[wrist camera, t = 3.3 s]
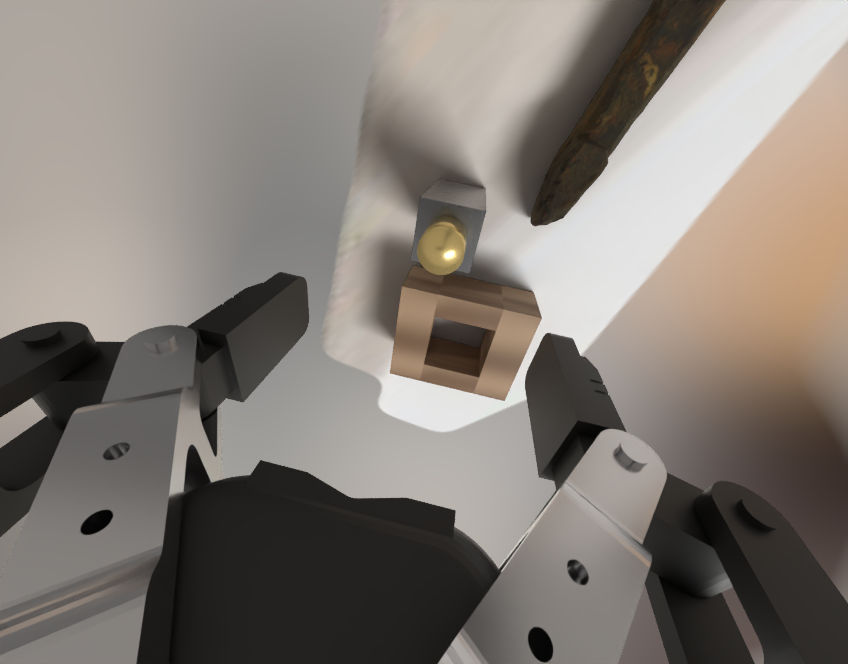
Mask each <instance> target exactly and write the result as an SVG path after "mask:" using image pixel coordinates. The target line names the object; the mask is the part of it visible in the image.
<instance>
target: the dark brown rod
mask: <svg viewBox="0 0 848 664" xmlns="http://www.w3.org/2000/svg"><path fill="white" fill-rule="evenodd" d="M725 1H726V0H654V1H653V3H652V5H651V7H650V9H649V11H648V13H647V14H646V16H645V17H644V19H643V20H642V21H641V23H640V24H639V26H638V27H637V29H636V30H635V32H634V33H633V35H632V36H631V38H630V40H629V42H628V44H627V45H626V47H625V48H624V50H623V52H622V53H621V55H620V57H619V58H618V60H617V61H616V63H615V65H614V66H613V68H612V69H611V71H610V73H609V74H608V76H607V78H606V79H605V81H604V82H603V84H602V86H601V87H600V89H599V91H598V92H597V93H596V95H595V96H594V98H593V100H592V101H591V103H590V104H589V106H588V108H587V109H586V111H585V113H584V114H583V116H582V117H581V119H580V120H579V122H578V124H577V125H576V127H575V129H574V130H573V132H572V133H571V135H570V136H569V138H568V139H567V140H566V142H565V143H564V144H563V145H562V147H561V148H560V150H559V152H558V153H557V155H556V157H555V159H554V160H553V162H552V164H551V166H550V168H549V170H548V172H547V174H546V178H545V180H544V182H543V184H542V186H541V189H540V192H539V195H538V197H537V200H536V203H535V206H534V209H533V211H532V214H531V224H532V225H534V226H538V225H548V224H549V223H551V222H555V221H557V220H559V219H562V218H564V216H565V215H566V214H567V213H568V212H569V210H570V209H571V208H572V207H573V206H574V205H575V204H576V202H577V201H578V200H579V199H580V197H581V196H582V195H583V194H584V192H585V191H586V190H587V189H588V188H589V187H590V186H591V185H592V184H593V183H594V181H595V180H596V179H597V178H598V177H599V176H600V175H601V173H602V172H603V170H604V169H605V167H606V166H607V164H608V157H609V156H610V155H611V154H612V152H613V151H614V150H615V148H616V147H617V145H618V144H619V142H620V141H621V139H622V138H623V137H624V135H625V134H626V132H627V131H628V130H629V128H630V127H631V125H632V124H633V122H634V121H635V120H636V118H637V117H638V116H639V115H640V114H641V113H642V112H643V110H644V109H645V107H646V106H647V104H648V103H649V102H650V100H651V99H652V98H653V96H654V95H655V94H656V93H657V92H658V90H659V89H660V88H661V87H662V85H663V84H664V83H665V81H666V80H667V79H668V77H669V76H670V75H671V73H672V72H673V70H674V69H675V68H676V66H677V65H678V64H679V62H680V61H681V60H682V58H683V57H684V56H685V54H686V53H687V52H688V50H689V49H690V48H691V46H692V45H693V44H694V42H695V41H696V40H697V38H698V37H699V35H700V34H701V33H702V31H703V30H704V29H705V27H706V26H707V25H708V23H709V22H710V21H711V19H712V18H713V17H714V15H715V14H716V12H717V11H718V10H719V8H720V7H721V6H722V4H723V3H724V2H725Z"/></svg>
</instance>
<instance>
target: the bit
mask: <svg viewBox="0 0 848 664" xmlns="http://www.w3.org/2000/svg"><path fill="white" fill-rule="evenodd" d="M485 214H486V189H485V188H480V187H476V186H471V185H466V184H461V183H457V182H452V181H447V180H442V179H438V180H437V181H436V182H435V183H434V184H433V185H432V186H431V187H430V188H429V189H428V190H427V191H426V192H425V193H424V194H423V195H422V196H421V197H420V201H419V208H418V215H417V221H416V228H415V235H414V241H413V248H412V255H411V261H415V262H420V263H421V265H422V266H423V267H424V268H425V269H426V270H427V271H429V272H430V273H433V274H436V275H446V274H450V273H452V272H454V271H455V270H456V271H460V272H464V273H470V269H471V266H472V262H473V258H474V254H475V251H476V247H477V243H478V240H479V236H480V232H481V228H482V225H483V221H484V217H485Z"/></svg>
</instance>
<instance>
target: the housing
mask: <svg viewBox="0 0 848 664" xmlns="http://www.w3.org/2000/svg"><path fill="white" fill-rule="evenodd" d="M435 317H438V318H442V319H446V320H451V321H455V322H459V323H464V324H468V325H472V326H477V327H481V328H485V329H486V331H485V334H484V337H483V340H482V343H481V346H480V348H477V347H473V346H469V345H464V344H460V343H456V342H452V341H447V340H443V339H439V338H435V337H431V334H432V329H433V325H434V320H435ZM541 319H542V317H541V314H540V311H539V308H538V305H537V301H536V298H535V295H534V292H529V291H525V290H521V289H516V288H512V287H507V286H503V285H498V284H494V283H489V282H485V281H480V280H476V279H471V278H467V277H462V276H458V275H454V274H446V275H436V274H433V273H430V272H429V271H427V270H426V269H425V268H422V267H418V266H413V267H412V269H411V270H410V272H409V274H408V276H407V278H406V280H405V282H404V283H403V285H402V289H401V296H400V304H399V311H398V318H397V325H396V333H395V340H394V347H393V354H392V361H391V369H390V373H391V374H395V375H399V376H403V377H407V378H411V379H416V380H420V381H424V382H428V383H432V384H436V385H440V386H445V387H449V388H453V389H457V390H461V391H465V392H470V393H474V394H478V395H482V396H486V397H490V398H494V399H499V400H503V401H505V398H506V396H507V394H508V392H509V390H510V387H511V385H512V383H513V381H514V379H515V376H516V374H517V372H518V370H519V367H520V365H521V363H522V361H523V359H524V356H525V354H526V352H527V350H528V348H529V345H530V343H531V341H532V339H533V337H534V334H535V332H536V330H537V328H538V325H539V323H540V321H541Z"/></svg>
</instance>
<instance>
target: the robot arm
mask: <svg viewBox="0 0 848 664" xmlns="http://www.w3.org/2000/svg"><path fill="white" fill-rule="evenodd" d="M307 294H308V293H307V283H306V280H305V278H304V277H301V276H296V275H291V274H287V273H283V272H279V273H277V274H276V275H274V276H273V277H272V278H270V279H268V280H267V281H266V282H264V283H260V284H257V285H254V286H251V287H248V288H245V289H244V290H242V291H241V292H239V293H238V294H236V295H235V296H234V298H231V299H229V300H227V301H226V302H224V304H223V305H222V304H221V305H220V306H218V307H216V308H215V309H213V310H212V311H210V312H209V313H207V314H206V315H204V316H203V317H201V318H200V319H198V320H197V321H195V322H194V323H192V324H191V325H189V326H188V327H184V326H178V325H168V326H160V327H155V328H151V329H147V330H145V331H142V332H139V333H137V334H135V335H134V336H132V337H130V338H129V339H128V340H127V341H126V342H95V340H94V338H93V336H92V335H91V333H90V331H89V330H88V328H87V327H86V326H85V325H83V324H81V323H77V322H52V323H45V324H40V325H36V326H32V327H28V328H25V329H22V330H19V331H17V332H15V333H12V334H10V335H8V336H6V337H3V338H1V339H0V417H2V416H3V415H5V414H7V413H8V412H10V411H11V410H13V409H14V408H16V407H18V406H19V405H21V404H22V403H24V402H26V401H27V400H29V399H30V398H33V399H34V400H35V402H36V403H37V404H38V406H39V407H40V408H41V409H42V410H43V412H44V413H45V414H46V415H47V416H46V417H45V418H43V419H42V420H40V421H39V422H37V423H36V424H34V425H33V426H32V427H30V428H29V429H27V430H26V431H24V432H23V433H22V434H20V435H19V436H17V437H16V438H14V439H13V440H11V441H10V442H9V443H7V444H6V445H4V446H3V447H1V448H0V537H1V536H2V535H3V534H4V533H5V532H7V531H8V530H9V529H10V528H11V527H12V526H13V525H14V524H16V523H17V522H18V521H19V520H20V519H21V518H22V517H24V516H25V515H26V514H27V513H28V512H29V513H28V515H27V517H26V520H25V522H24V524H23V526H22V529H21V531H20V533H19V536H18V538H17V540H16V542H15V545H14V547H13V549H12V551H11V554H10V556H9V558H8V560H7V563H6V565H5V567H4V570H3V572H2V574H1V576H0V664H618V662H619V659H620V656H621V653H622V650H623V647H624V644H625V641H626V638H627V635H628V632H629V629H630V626H631V623H632V620H633V617H634V614H635V611H636V608H637V605H638V602H639V599H640V596H641V593H642V590H643V587H644V584H645V586H646V588H647V592H648V595H649V599H650V602H651V605H652V608H653V612H654V615H655V618H656V621H657V625H658V628H659V632H660V635H661V638H662V641H663V645H664V648H665V651H666V654H667V658H668V661H669V664H755V663H754V661H753V659H752V657H751V655H750V652H749V650H748V648H747V646H746V644H745V642H744V640H743V637H742V635H741V633H740V631H739V629H738V627H737V625H736V622H735V620H734V618H733V616H732V614H731V612H730V610H729V607H728V605H727V603H726V601H725V599H724V597H723V595H722V592H723V591H725V590H727V589H729V588H732V587H733V588H734V590H735V591H736V594H737V596H738V598H739V600H740V602H741V604H742V606H743V608H744V610H745V612H746V614H747V616H748V618H749V620H750V622H751V624H752V626H753V628H754V630H755V632H756V634H757V636H758V638H759V640H760V643H761V645H762V648H763V653H764V664H848V603H847V602H846V600H845V599H844V597H843V596H842V595H841V594H840V592H839V591H838V589H837V588H836V586H835V585H834V584H833V582H832V581H831V579H830V578H829V577H828V575H827V574H826V573H825V571H824V570H823V568H822V567H821V566H820V564H819V563H818V562H817V560H816V559H815V557H814V556H813V555H812V553H811V552H810V551H809V549H808V548H807V546H806V545H805V544H804V542H803V541H802V539H801V538H800V537H799V535H798V534H797V533H796V531H795V530H794V528H793V527H792V526H791V525H790V523H789V522H788V521H787V520H786V519H785V518H784V516H783V515H782V514H781V513H780V512H779V511H777V510H776V509H775V508H774V507H773V506H772V505H771V504H769V503H768V502H767V501H766V500H764V499H763V498H761V497H760V496H759V495H757V494H755V493H754V492H752V491H750V490H748V489H747V488H745V487H743V486H740V485H738V484H735V483H732V482H728V481H719V482H716V483H714V484H713V485H712V486H710V487H709V488H708V489H706V490H705V491H703V490H701V489H699V488H697V487H695V486H693V485H691V484H689V483H687V482H685V481H683V480H681V479H679V478H677V477H675V476H673V475H671V474H669V473H667V472H666V469H665V466H664V464H663V462H662V461H661V459H660V458H659V456H658V455H657V454H656V453H655V452H654V451H653V450H652V449H651V448H650V447H649V446H648V445H647V444H645V443H644V442H643V441H641V440H640V439H639V438H637V437H635V436H633V435H631V434H629V433H627V432H626V430H625V428H624V426H623V423H622V421H621V419H620V417H619V415H618V413H617V411H616V408H615V407H614V404H613V402H612V400H611V398H610V396H609V395H608V392H607V389H606V387H605V385H603V381H602V378H601V376H600V374H599V372H598V370H597V369H596V368H595V367H594V366H593V365H592V363H591V362H590V361H589V360H588V359H587V358H586V357H582V356H580V354H579V352H578V349H577V347H576V345H575V342H574V340H573V339H572V338H569V337H564V336H560V335H555V334H551V333H547V334H545V336H544V337H543V339H542V341H541V343H540V345H539V347H538V349H537V351H536V354H535V356H534V358H533V360H532V362H531V364H530V366H529V368H528V371H527V374H526V379H525V390H526V396H527V403H528V409H529V416H530V421H531V429H532V434H533V442H534V448H535V455H536V461H537V467H538V474H539V477H541V478H544V479H549V480H553V481H555V485H556V491H555V492H554V493H553V495H552V496H551V497H550V499H549V500H548V501H547V503H546V504H545V505H544V507H543V508H542V510H541V511H540V512H539V514H538V515H537V517H536V518H535V519H534V521H533V522H532V523H531V525H530V526H529V527H528V529H527V530H526V532H525V533H524V534H523V536H522V537H521V538H520V540H519V541H518V543H517V544H516V545H515V547H514V548H513V549H512V551H511V552H510V553H509V555H508V556H507V557H506V559H505V560H504V561H503V563H502V564H501V565H500V567H499V568H497V566H496V565H495V563H494V562H493V561H492V559H491V558H490V557H489V556H488V555H487V554H486V552H485V551H484V550H483V549H482V548H481V547H480V546H479V545H478V544H477V543H476V542H475V541H474V540H472V539H471V538H470V537H469V536H467V535H466V534H465V533H463V532H462V531H460V530H459V529H457V528H455V527H454V523H455V510H451V509H448V508H444V507H440V506H436V505H432V504H428V503H425V502H421V501H417V500H413V499H409V498H362V499H357V498H351V497H348V496H346V495H344V494H343V493H341V492H339V491H338V490H336V489H334V488H333V487H331V486H329V485H328V484H326V483H324V482H323V481H321V480H319V479H318V478H316V477H314V476H313V475H311V474H309V473H308V472H304V471H300V470H296V469H293V468H288V467H285V466H281V465H277V464H273V463H269V462H265V461H262V460H260V462H259V463H258V465H257V466H256V468H255V469H254V471H253V472H252V474H251V475H247V476H238V477H231V478H226V479H224V478H223V472H222V423H221V422H222V420H221V419H222V416H221V414H222V413H221V408H220V404H221V403H222V402H223V401H224V400H225V398H228V399H232V400H236V401H240V402H244V401H245V400H246V399H247V398H248V396H249V395H250V394H251V393H252V392H253V391H254V390H255V388H256V387H257V386H258V385H259V384H260V383H261V382H262V381H263V380H264V378H265V377H266V376H267V375H268V374H269V373H270V372H271V371H272V370H273V368H274V367H275V366H276V365H277V364H278V363H279V362H280V361H281V359H282V358H283V357H284V356H285V355H286V354H287V353H288V351H289V350H290V349H291V348H292V347H293V346H294V345H295V344H296V343H297V341H298V340H299V339H300V338H301V337H302V336H303V335H304V333H305V331H306V329H307V327H308V323H309V309H308V295H307Z"/></svg>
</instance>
